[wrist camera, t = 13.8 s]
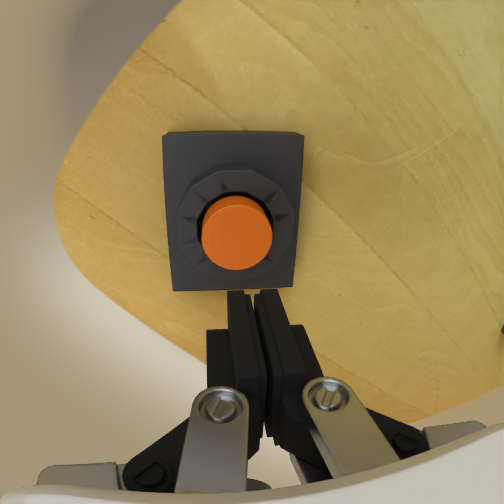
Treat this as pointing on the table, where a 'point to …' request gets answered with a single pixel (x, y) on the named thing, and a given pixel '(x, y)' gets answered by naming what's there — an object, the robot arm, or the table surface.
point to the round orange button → (236, 233)
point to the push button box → (231, 184)
